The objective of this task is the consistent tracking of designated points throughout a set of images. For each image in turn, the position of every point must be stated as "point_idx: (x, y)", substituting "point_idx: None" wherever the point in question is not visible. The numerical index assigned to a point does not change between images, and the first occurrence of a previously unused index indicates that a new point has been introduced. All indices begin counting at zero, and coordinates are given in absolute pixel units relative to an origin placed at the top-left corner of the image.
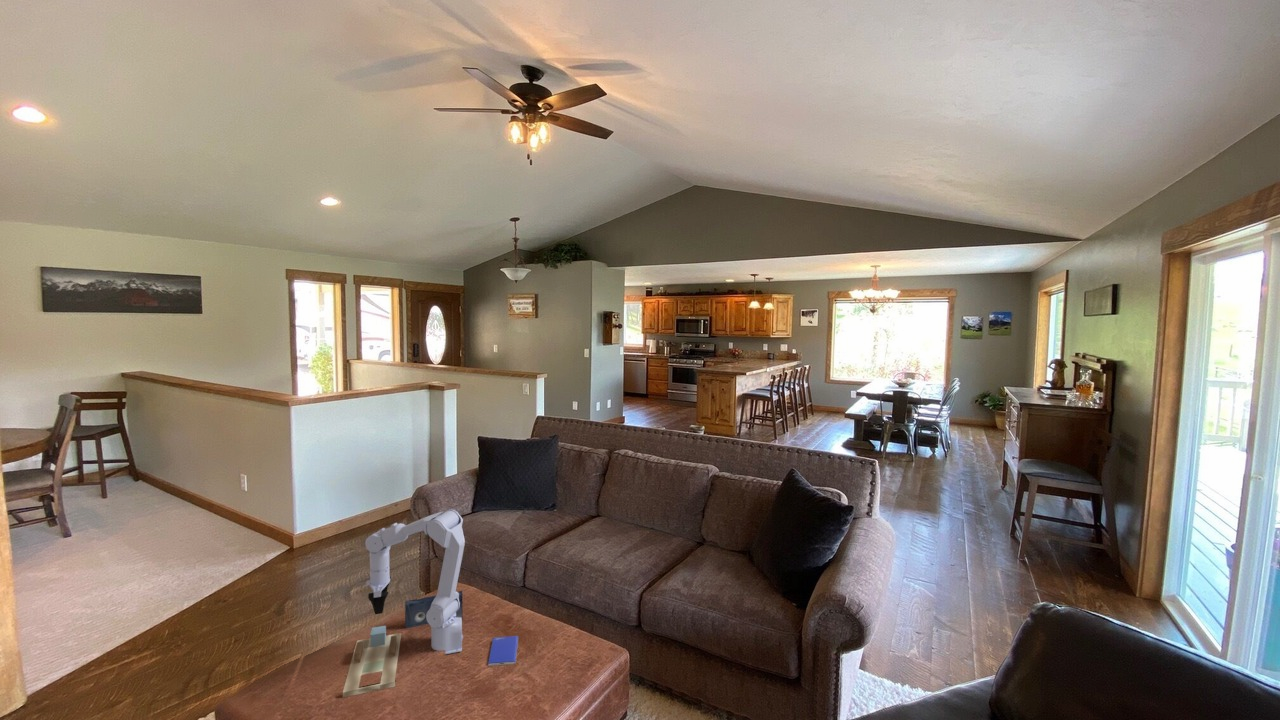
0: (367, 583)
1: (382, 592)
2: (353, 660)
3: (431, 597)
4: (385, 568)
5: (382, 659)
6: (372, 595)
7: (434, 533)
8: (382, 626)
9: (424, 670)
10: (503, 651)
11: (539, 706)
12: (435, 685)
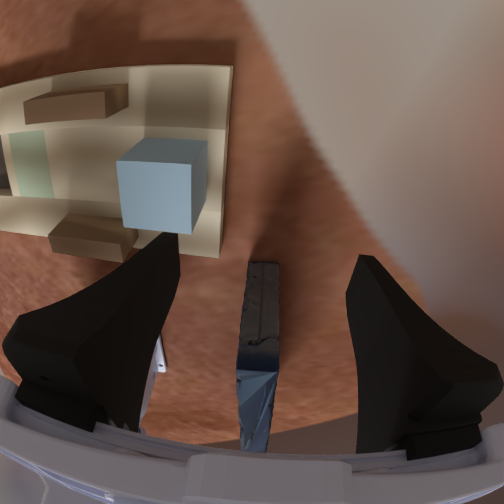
0: (186, 500)
1: (367, 339)
2: (71, 81)
3: (258, 426)
4: None
5: (59, 191)
6: (30, 373)
7: None
8: (186, 218)
9: (44, 284)
10: None
11: (6, 374)
12: (8, 294)
